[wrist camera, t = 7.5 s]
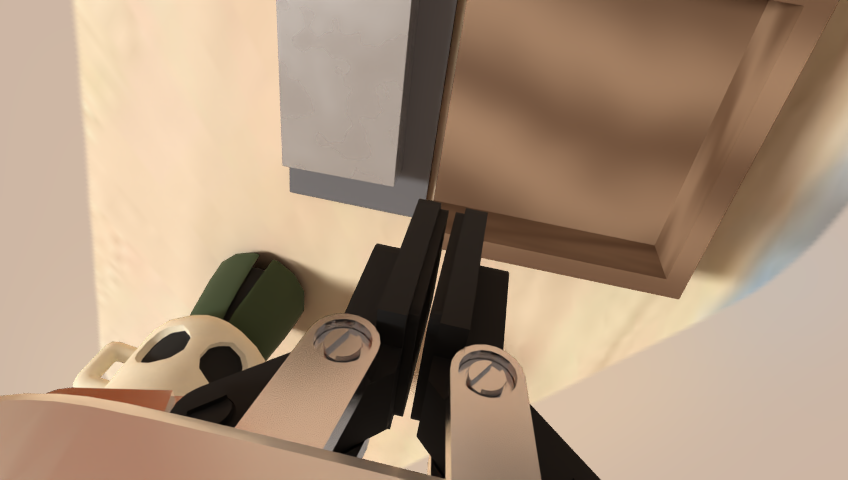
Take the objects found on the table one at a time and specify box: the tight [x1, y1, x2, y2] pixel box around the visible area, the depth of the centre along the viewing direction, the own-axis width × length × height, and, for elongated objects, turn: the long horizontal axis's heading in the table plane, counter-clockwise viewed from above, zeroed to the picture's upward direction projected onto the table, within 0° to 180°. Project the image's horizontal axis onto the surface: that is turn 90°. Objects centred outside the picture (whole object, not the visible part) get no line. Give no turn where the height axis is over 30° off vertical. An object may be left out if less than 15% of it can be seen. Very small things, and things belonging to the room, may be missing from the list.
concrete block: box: [276, 0, 419, 187], centre depth 25 cm, size 10×6×2 cm, turn 173°
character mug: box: [73, 253, 304, 396], centre depth 30 cm, size 11×7×13 cm, turn 73°
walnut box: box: [434, 0, 839, 299], centre depth 24 cm, size 14×13×4 cm
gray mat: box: [290, 0, 457, 217], centre depth 26 cm, size 16×8×1 cm, turn 172°
